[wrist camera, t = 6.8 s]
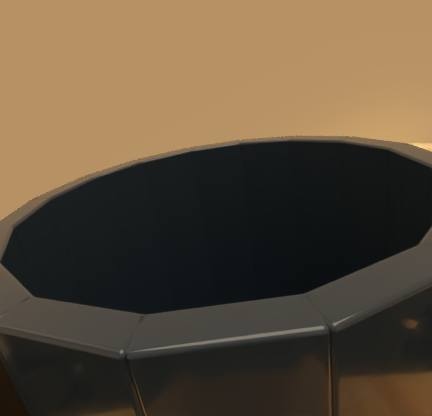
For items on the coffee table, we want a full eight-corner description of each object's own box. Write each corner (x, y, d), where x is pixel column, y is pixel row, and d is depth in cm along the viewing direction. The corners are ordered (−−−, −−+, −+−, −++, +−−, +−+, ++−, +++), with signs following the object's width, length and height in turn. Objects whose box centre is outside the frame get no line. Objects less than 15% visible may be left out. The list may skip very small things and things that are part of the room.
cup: (100, 799, 7) (-275, 405, 3) (158, 417, 14) (82, 163, 10) (514, 767, 6) (790, 270, 2) (350, 394, 14) (350, 122, 10)
